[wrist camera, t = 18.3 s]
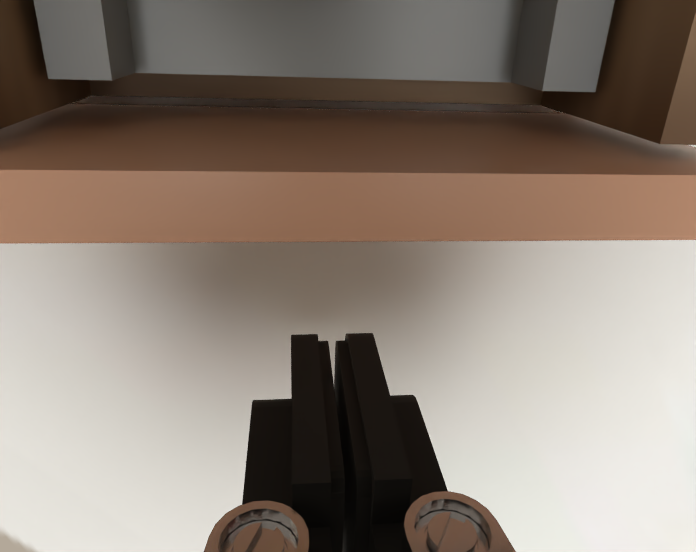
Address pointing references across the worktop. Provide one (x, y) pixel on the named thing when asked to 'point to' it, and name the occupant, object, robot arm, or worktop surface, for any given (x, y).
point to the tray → (333, 130)
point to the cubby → (599, 107)
